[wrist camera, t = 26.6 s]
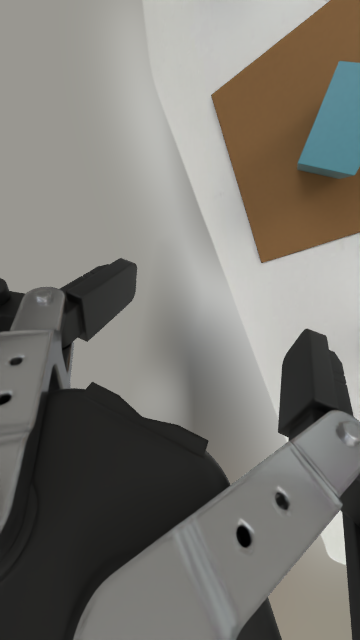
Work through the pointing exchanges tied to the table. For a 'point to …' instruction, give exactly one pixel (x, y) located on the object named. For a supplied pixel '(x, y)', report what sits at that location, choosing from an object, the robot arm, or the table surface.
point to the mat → (291, 135)
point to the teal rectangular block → (336, 127)
